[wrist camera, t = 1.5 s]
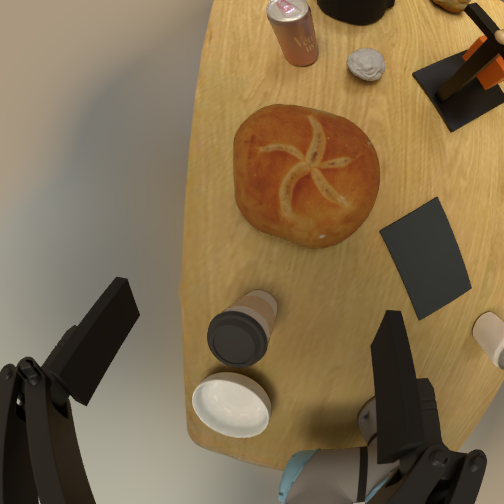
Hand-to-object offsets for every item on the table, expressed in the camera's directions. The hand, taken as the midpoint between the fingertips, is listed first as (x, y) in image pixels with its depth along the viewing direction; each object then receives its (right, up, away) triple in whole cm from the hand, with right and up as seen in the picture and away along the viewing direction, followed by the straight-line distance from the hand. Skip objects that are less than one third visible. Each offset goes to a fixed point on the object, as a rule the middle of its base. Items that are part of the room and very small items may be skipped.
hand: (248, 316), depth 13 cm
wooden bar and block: (+35, +31, +9) cm, 48 cm away
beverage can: (+9, +38, +26) cm, 47 cm away
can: (+46, -11, +25) cm, 53 cm away
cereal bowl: (-3, -28, +43) cm, 51 cm away
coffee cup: (+1, -7, +37) cm, 38 cm away
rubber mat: (+30, +2, +27) cm, 41 cm away
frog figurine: (+19, +33, +24) cm, 45 cm away
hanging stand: (+38, +33, +18) cm, 53 cm away
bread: (+9, +16, +31) cm, 35 cm away
